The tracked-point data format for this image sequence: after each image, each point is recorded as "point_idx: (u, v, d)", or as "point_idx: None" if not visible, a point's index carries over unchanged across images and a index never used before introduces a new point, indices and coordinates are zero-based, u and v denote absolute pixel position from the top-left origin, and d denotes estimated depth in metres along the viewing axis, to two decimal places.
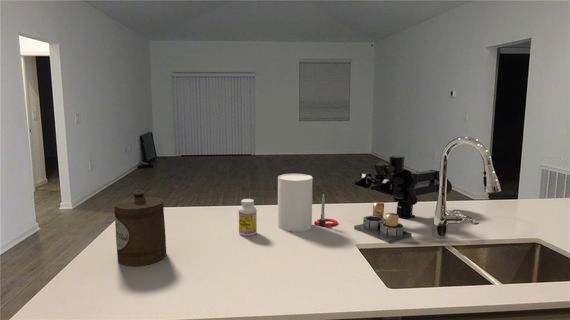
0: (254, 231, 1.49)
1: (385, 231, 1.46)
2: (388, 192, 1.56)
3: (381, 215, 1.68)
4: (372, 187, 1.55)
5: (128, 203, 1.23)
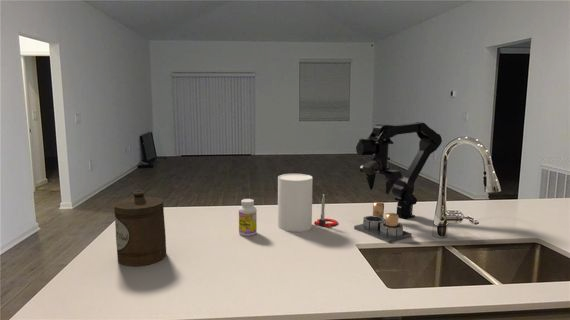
0: (254, 231, 1.49)
1: (385, 231, 1.46)
2: (397, 179, 1.62)
3: (381, 215, 1.68)
4: (387, 192, 1.64)
5: (128, 203, 1.23)
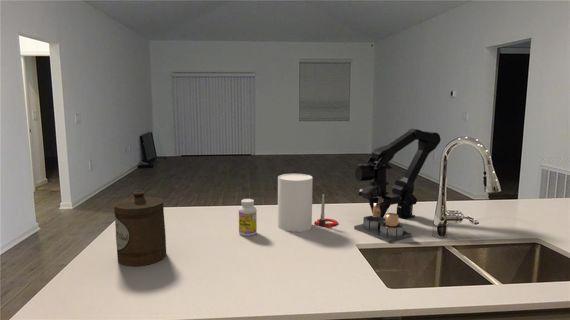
0: (254, 231, 1.49)
1: (385, 231, 1.46)
2: None
3: None
4: (382, 215, 1.67)
5: (128, 203, 1.23)
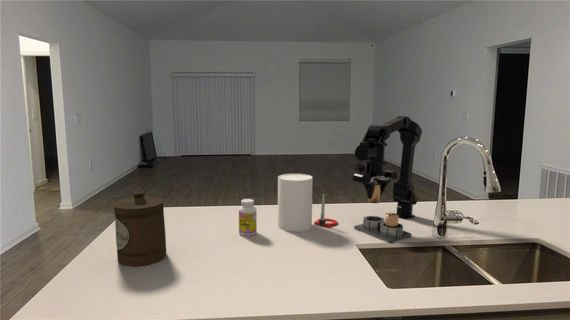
0: (254, 231, 1.49)
1: (385, 231, 1.46)
2: (368, 184, 1.50)
3: None
4: (369, 197, 1.54)
5: (128, 203, 1.23)
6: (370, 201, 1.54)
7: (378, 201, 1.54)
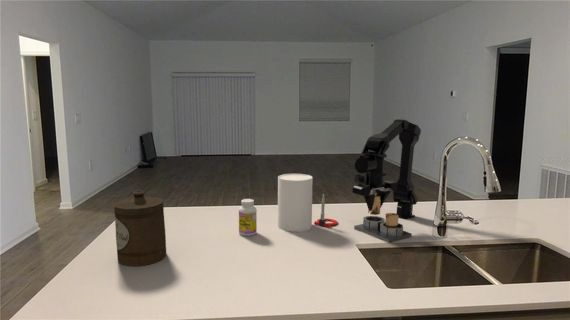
0: (254, 231, 1.49)
1: (385, 231, 1.46)
2: None
3: None
4: (369, 208, 1.54)
5: (128, 203, 1.23)
6: (370, 212, 1.55)
7: (378, 212, 1.54)
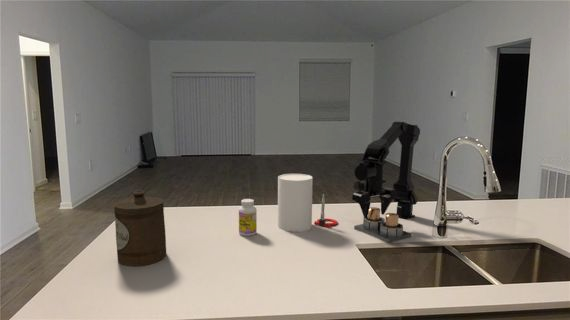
0: (254, 231, 1.49)
1: (385, 231, 1.46)
2: None
3: None
4: (365, 216, 1.53)
5: (128, 203, 1.23)
6: None
7: None
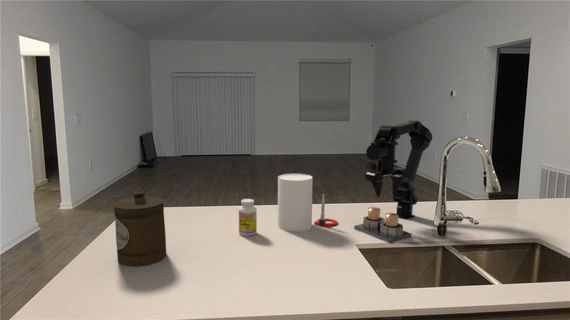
0: (254, 231, 1.49)
1: (385, 231, 1.46)
2: (376, 182, 1.56)
3: None
4: (377, 195, 1.60)
5: (128, 203, 1.23)
6: None
7: None
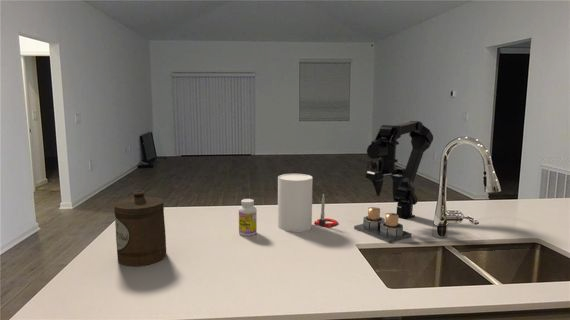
0: (254, 231, 1.49)
1: (385, 231, 1.46)
2: (377, 181, 1.57)
3: None
4: (377, 194, 1.61)
5: (128, 203, 1.23)
6: None
7: None
